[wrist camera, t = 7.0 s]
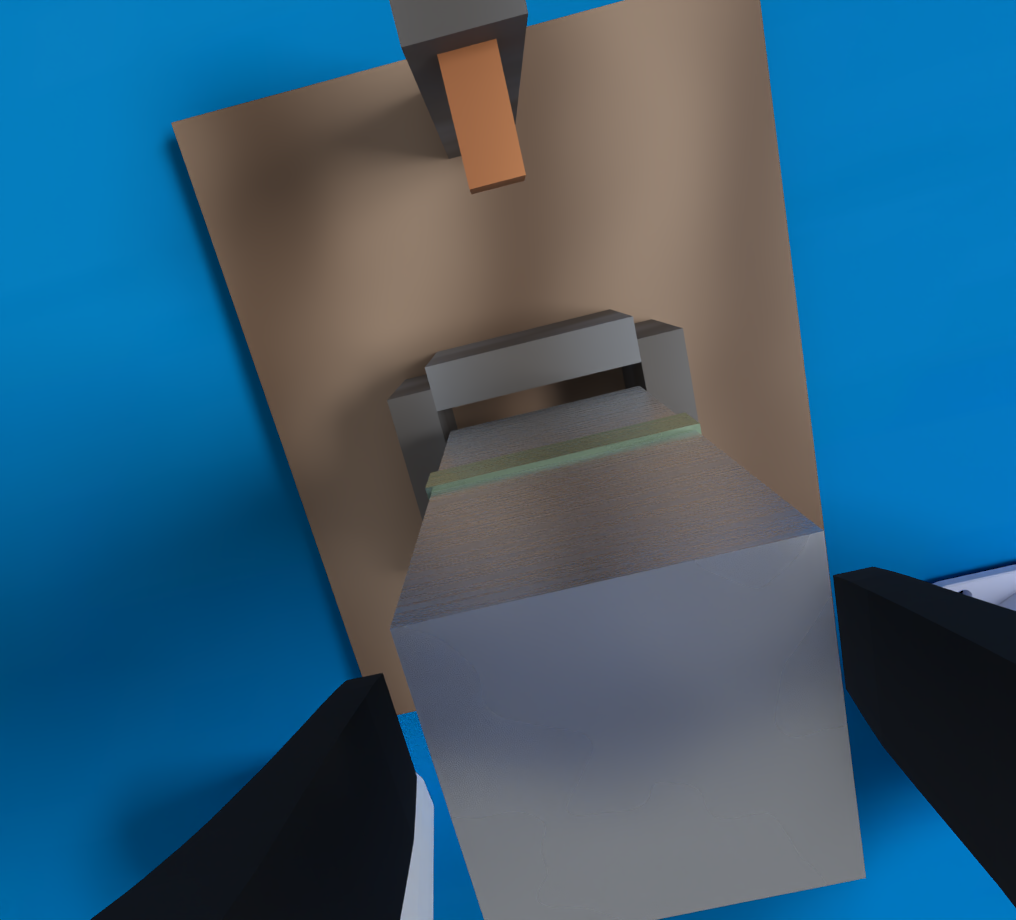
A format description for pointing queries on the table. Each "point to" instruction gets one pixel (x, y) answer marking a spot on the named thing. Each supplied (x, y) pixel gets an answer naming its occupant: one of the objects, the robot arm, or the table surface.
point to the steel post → (626, 669)
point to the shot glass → (421, 860)
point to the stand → (506, 257)
